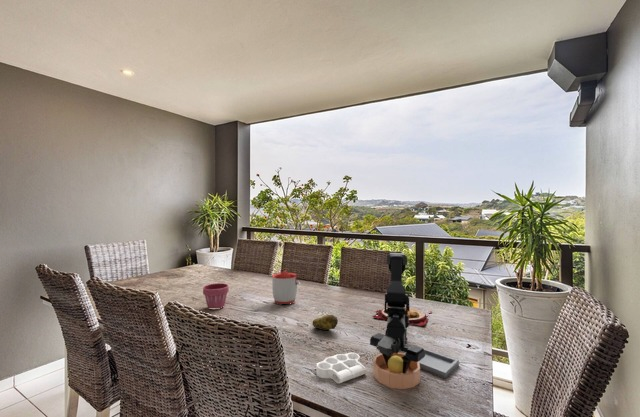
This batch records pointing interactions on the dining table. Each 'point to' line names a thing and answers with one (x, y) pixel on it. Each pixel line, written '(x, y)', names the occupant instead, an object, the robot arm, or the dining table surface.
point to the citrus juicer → (284, 287)
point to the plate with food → (413, 315)
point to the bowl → (395, 379)
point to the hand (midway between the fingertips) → (396, 370)
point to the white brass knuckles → (341, 367)
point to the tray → (438, 364)
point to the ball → (395, 364)
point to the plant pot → (215, 294)
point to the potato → (325, 322)
